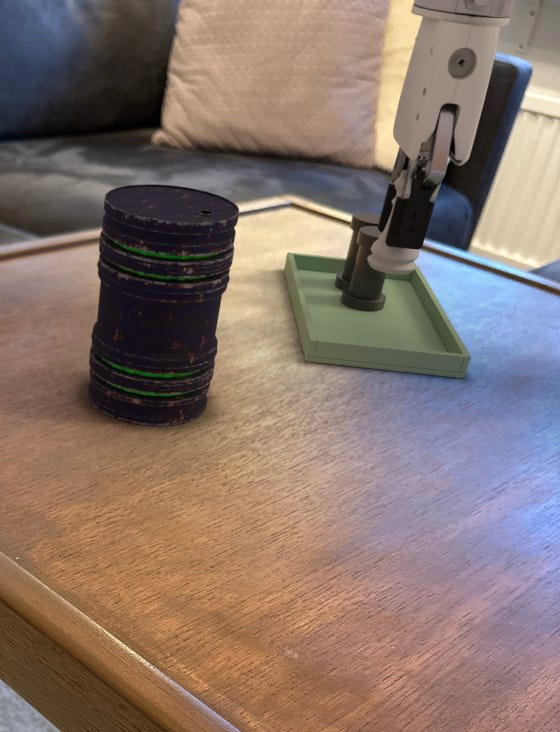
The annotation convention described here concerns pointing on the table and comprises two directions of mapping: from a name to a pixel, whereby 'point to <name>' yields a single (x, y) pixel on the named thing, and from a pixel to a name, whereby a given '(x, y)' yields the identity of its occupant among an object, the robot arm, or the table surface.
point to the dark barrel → (159, 301)
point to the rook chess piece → (393, 257)
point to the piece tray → (373, 322)
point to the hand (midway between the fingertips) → (399, 237)
